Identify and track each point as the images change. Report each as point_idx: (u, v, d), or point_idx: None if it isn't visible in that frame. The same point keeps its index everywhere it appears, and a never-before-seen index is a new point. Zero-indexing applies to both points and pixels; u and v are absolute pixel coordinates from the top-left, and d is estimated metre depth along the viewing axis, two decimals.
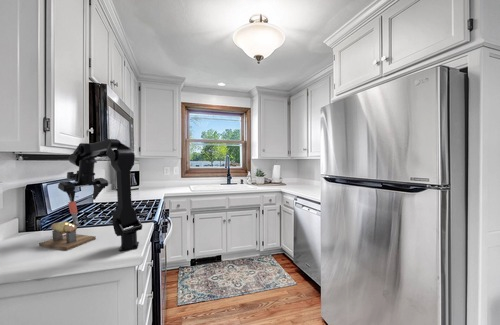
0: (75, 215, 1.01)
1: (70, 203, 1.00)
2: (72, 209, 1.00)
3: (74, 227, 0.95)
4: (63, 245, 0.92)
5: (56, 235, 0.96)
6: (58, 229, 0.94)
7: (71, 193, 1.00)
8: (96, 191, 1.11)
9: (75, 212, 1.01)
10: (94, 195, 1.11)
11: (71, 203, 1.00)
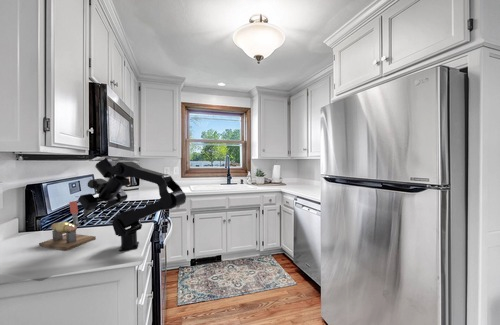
0: (75, 215, 1.01)
1: (71, 203, 1.00)
2: (73, 209, 1.00)
3: (74, 227, 0.95)
4: (63, 245, 0.92)
5: (56, 235, 0.96)
6: (58, 229, 0.94)
7: (91, 210, 0.89)
8: (112, 203, 1.01)
9: (76, 212, 1.01)
10: (107, 205, 1.01)
11: (72, 203, 1.00)
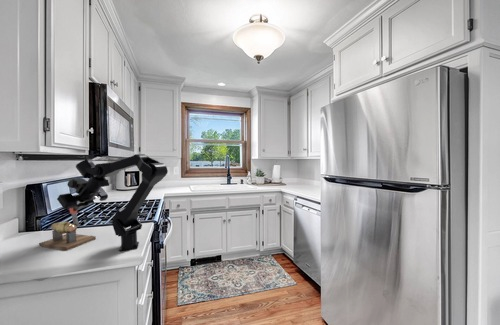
0: (75, 215, 1.01)
1: None
2: (72, 209, 1.00)
3: (74, 227, 0.95)
4: (63, 245, 0.92)
5: (56, 235, 0.96)
6: (58, 229, 0.94)
7: (81, 206, 0.97)
8: None
9: (75, 212, 1.01)
10: (78, 207, 1.00)
11: None
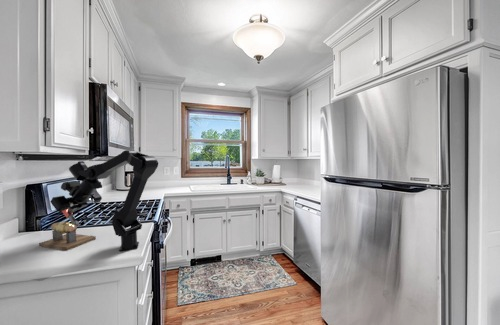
0: (71, 216, 1.01)
1: None
2: (66, 212, 1.01)
3: (74, 227, 0.95)
4: (63, 245, 0.92)
5: (56, 235, 0.96)
6: (58, 229, 0.94)
7: (74, 208, 0.98)
8: None
9: (70, 214, 1.02)
10: None
11: None
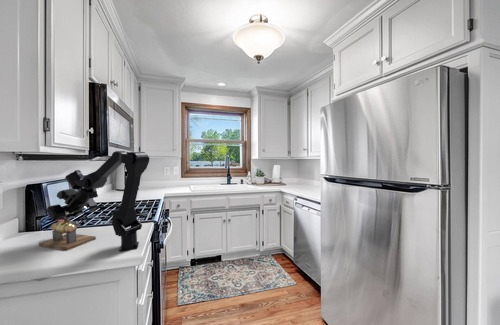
0: (69, 221, 1.02)
1: (58, 222, 1.03)
2: None
3: (74, 227, 0.95)
4: (63, 245, 0.92)
5: (56, 235, 0.96)
6: (58, 229, 0.94)
7: (70, 217, 0.99)
8: None
9: (67, 220, 1.02)
10: None
11: (58, 221, 1.03)
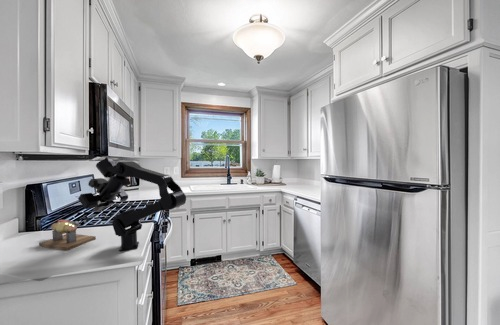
0: (69, 221, 1.02)
1: (58, 222, 1.03)
2: None
3: (74, 227, 0.95)
4: (63, 245, 0.92)
5: (56, 235, 0.96)
6: (58, 229, 0.94)
7: (101, 207, 0.93)
8: None
9: (67, 221, 1.02)
10: None
11: (58, 221, 1.03)
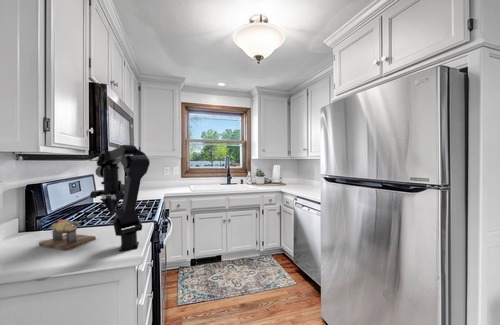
0: (69, 221, 1.02)
1: (58, 222, 1.03)
2: None
3: (74, 227, 0.95)
4: (63, 245, 0.92)
5: (56, 235, 0.96)
6: (58, 229, 0.94)
7: (102, 201, 1.00)
8: None
9: (67, 221, 1.02)
10: None
11: (58, 221, 1.03)
